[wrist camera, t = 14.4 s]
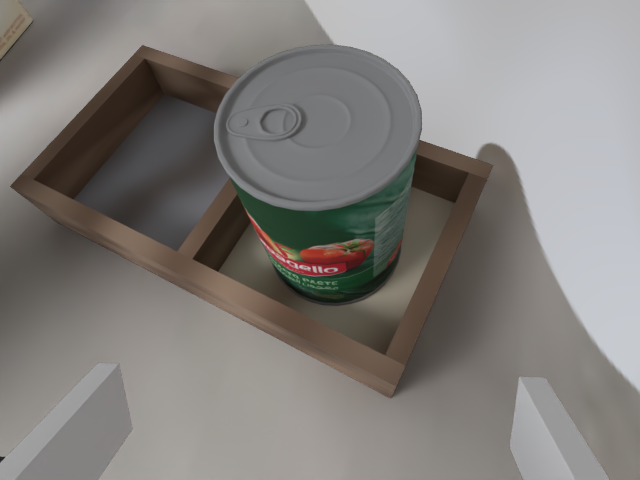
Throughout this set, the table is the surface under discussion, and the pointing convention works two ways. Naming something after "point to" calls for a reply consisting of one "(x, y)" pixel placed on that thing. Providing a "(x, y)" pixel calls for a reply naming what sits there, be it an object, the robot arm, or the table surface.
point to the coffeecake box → (12, 23)
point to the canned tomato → (323, 166)
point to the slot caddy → (237, 216)
